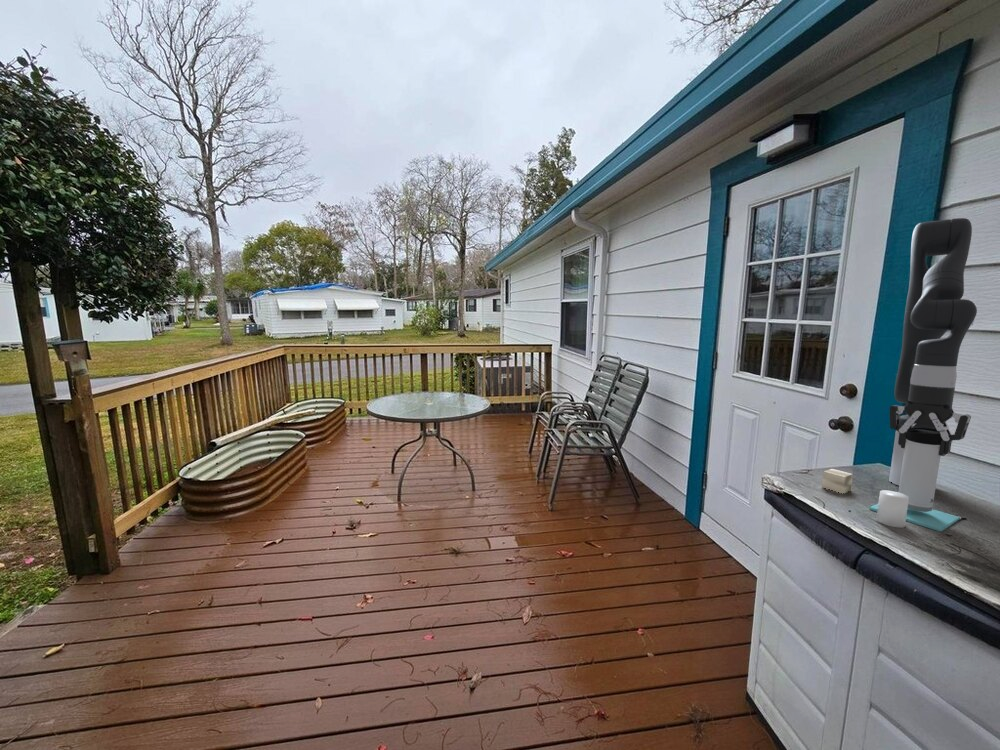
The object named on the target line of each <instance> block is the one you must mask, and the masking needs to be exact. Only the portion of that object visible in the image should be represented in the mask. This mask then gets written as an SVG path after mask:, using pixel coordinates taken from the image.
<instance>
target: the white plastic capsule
mask: <svg viewBox="0 0 1000 750" xmlns="http://www.w3.org/2000/svg"><path fill="white" fill-rule="evenodd" d="M878 496H879V497H878V502H877V504H878V511H877V512H876V521H877V522H878V523H880V524H883V525H885V526H889V527H893V528H898V529H899V528H900V529H901V528H902V529H903V528H905V526H906V522H907V521H906V515H907V508H908V501H909V497H908V496H907V495H904V494H902V493H898V492H897V491H893V490H888V489H887V490H886V489H882V490H880V491H879V495H878Z"/></svg>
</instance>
